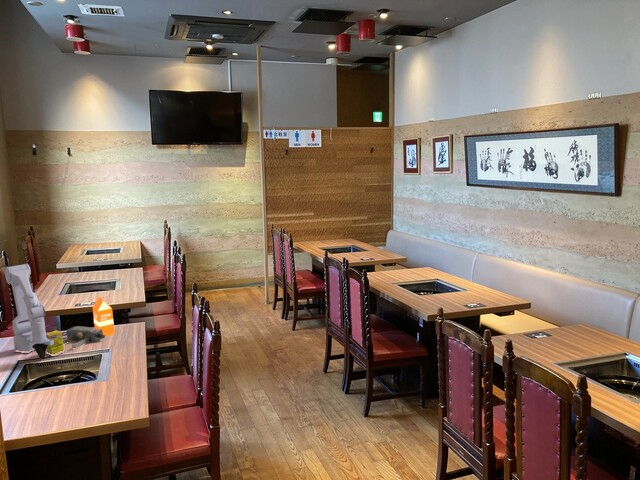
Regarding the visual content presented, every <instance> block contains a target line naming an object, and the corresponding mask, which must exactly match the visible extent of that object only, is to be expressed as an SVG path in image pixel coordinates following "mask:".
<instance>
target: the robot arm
mask: <svg viewBox="0 0 640 480" xmlns="http://www.w3.org/2000/svg"><path fill="white" fill-rule="evenodd" d="M31 274H32V271H31V267H30V265H29V264H28V263H24V264H19V265H13V266H6V267H5V269H4V275H5V280H6V283H7V284H10V285H11V286H12V287H11V288H12V294H13V297H14V303H15V307H16V314H17V316H16V317H14V319H13V320H12V331H13V334H14V336H13V346H14V351H15V350H19V351H30V350H34V349H35V351H34V352H36V354H37V356H38V358H39V359H40V358H42V359H44V358H46V354H47V351H46V349H47V346H48V345H49V346H51V345H53V344H54V340H50V339H48V338H46V333H47V332H46V324H45V317H46V309H45V307H44V305H43V304H42V302H40V300H39V298H38V296H37V293H36V292H33V289H32V286H31V283H30V278H31ZM43 357H44V358H43Z"/></svg>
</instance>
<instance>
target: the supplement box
mask: <svg viewBox="0 0 640 480" xmlns="http://www.w3.org/2000/svg"><path fill="white" fill-rule="evenodd" d="M46 338H48V339H50V340H54V344H53V345H51V346H49V345H48V346H47V349H46V353H47V352H48V353H50V354H55V353H58V352H60V351H63V350H64V351H65V349H64V347H65V346H64V345H63V340H64V338H63V333H62V332H61V331H59V330H57V329H56V330H54V331H50V332H46Z"/></svg>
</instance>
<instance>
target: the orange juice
mask: <svg viewBox="0 0 640 480" xmlns="http://www.w3.org/2000/svg"><path fill="white" fill-rule="evenodd" d="M92 314H93V325H94V328H96V329H102V330H103V334H104V335H105V337H108V336H112V335H115V326H114V325H115V323H114V315H113V308H112V307H111V306H110V305H109V304H108V303H107V301H105V300H104V299H103V298H101V297H100V296H98V298H97V299H96V301H95V303H94V304H93V306H92Z"/></svg>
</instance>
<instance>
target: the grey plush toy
mask: <svg viewBox="0 0 640 480" xmlns="http://www.w3.org/2000/svg"><path fill="white" fill-rule="evenodd" d="M65 333H66V338H63V344H65V343H67V342H69V343H71V342H74V341H78V340H79V341H78V342H75V343H73V344H72V345H71V349H72V348H76V347H79V346H81V345H83V344H85V343H87V344H88V343H97V342H99V341H101V340H103V339H105V337H106V336H105V335H104V334H103V330H102V329H96V328H95V327H91V326H90V327H88V326H79V325H77V326H76V325H75V326H72V327H70V328H68V329H66V332H65ZM70 341H71V342H70ZM67 344H68V343H67ZM65 345H66V344H65ZM85 345H86V344H85ZM83 346H84V345H83ZM81 347H82V346H81ZM79 348H80V347H79Z"/></svg>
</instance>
